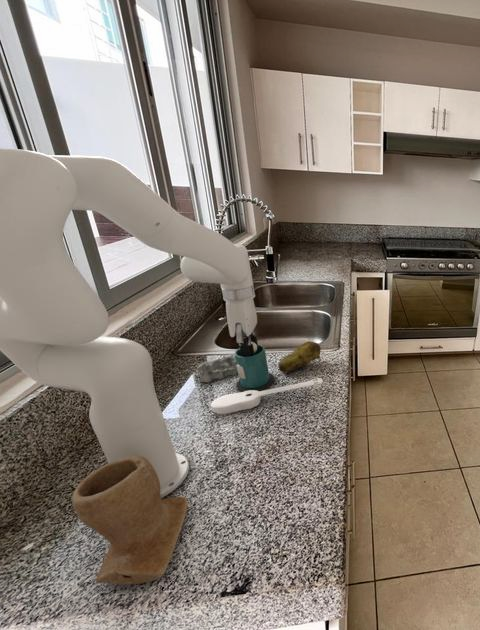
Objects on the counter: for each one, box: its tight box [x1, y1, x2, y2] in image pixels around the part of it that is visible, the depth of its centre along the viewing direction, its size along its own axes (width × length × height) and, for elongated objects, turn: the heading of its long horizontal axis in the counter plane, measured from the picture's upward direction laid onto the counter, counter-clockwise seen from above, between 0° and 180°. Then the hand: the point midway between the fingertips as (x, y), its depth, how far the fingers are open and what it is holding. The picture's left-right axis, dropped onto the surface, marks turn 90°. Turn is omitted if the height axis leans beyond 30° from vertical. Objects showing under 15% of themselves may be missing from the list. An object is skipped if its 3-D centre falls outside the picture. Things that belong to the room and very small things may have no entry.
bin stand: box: [236, 372, 275, 393], centre depth 101 cm, size 10×10×1 cm
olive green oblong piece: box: [278, 341, 322, 373], centre depth 108 cm, size 8×13×8 cm, turn 109°
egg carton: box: [196, 354, 238, 383], centre depth 104 cm, size 11×8×4 cm
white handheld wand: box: [210, 377, 324, 415], centre depth 93 cm, size 28×6×3 cm, turn 114°
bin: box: [234, 344, 270, 388], centre depth 99 cm, size 8×8×10 cm
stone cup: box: [71, 456, 189, 586], centre depth 54 cm, size 15×12×15 cm
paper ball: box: [251, 342, 257, 353], centre depth 96 cm, size 4×4×4 cm
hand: (250, 352), depth 97 cm, fingers closed on paper ball, 3 cm apart
